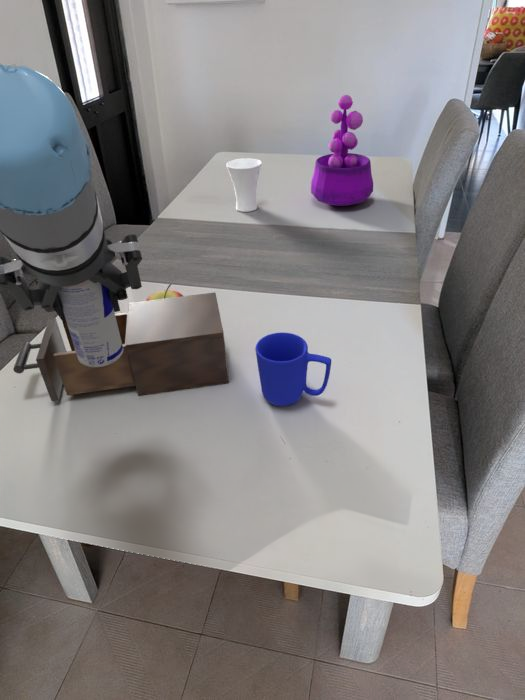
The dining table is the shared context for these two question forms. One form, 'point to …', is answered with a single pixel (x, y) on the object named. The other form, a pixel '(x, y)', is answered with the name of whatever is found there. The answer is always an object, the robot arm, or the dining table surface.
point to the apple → (164, 295)
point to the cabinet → (176, 343)
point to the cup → (245, 182)
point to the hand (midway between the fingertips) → (89, 306)
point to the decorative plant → (343, 163)
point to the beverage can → (91, 323)
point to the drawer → (75, 363)
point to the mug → (286, 368)
